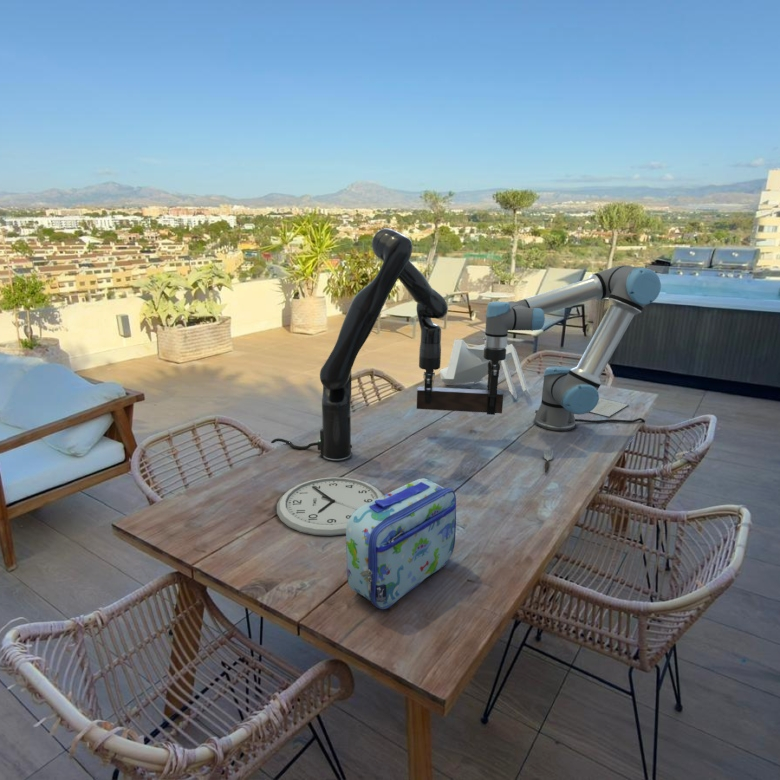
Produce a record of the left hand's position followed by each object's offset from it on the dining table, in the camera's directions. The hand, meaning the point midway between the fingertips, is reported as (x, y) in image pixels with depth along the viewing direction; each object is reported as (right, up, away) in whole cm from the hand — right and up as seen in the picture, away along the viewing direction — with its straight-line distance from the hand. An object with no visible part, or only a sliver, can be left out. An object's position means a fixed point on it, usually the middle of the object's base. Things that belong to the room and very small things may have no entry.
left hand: (428, 400), depth 187 cm
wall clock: (-29, -28, -45) cm, 60 cm away
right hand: (+22, -4, -2) cm, 22 cm away
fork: (+37, -20, -17) cm, 46 cm away
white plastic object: (+28, +3, +56) cm, 62 cm away
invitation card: (+78, -3, +39) cm, 87 cm away
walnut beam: (+11, -3, 0) cm, 11 cm away
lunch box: (-11, -37, -75) cm, 84 cm away
